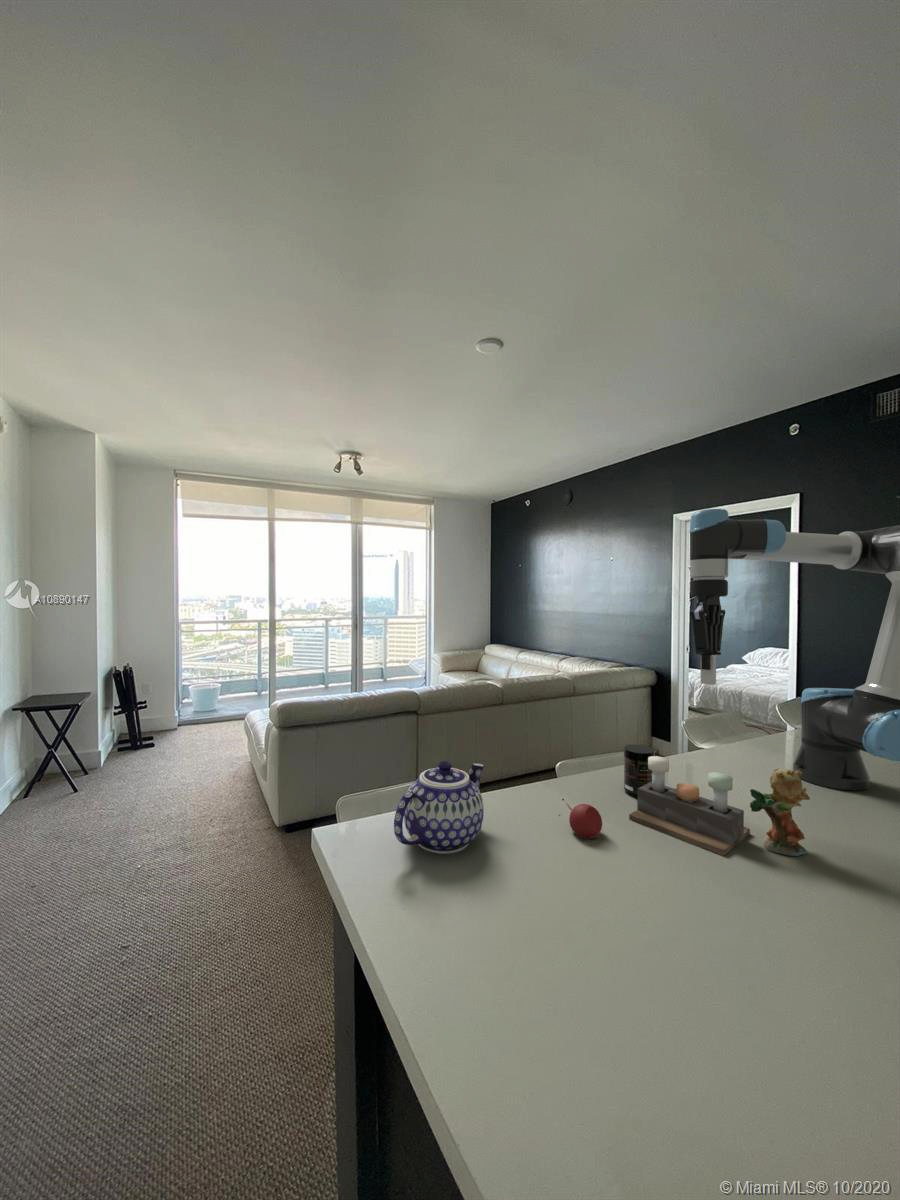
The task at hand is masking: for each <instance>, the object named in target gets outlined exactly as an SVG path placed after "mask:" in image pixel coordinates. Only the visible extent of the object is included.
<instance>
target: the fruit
mask: <svg viewBox="0 0 900 1200" xmlns="http://www.w3.org/2000/svg"><path fill="white" fill-rule="evenodd" d="M561 800H562V801H563V802H564V801H565V799H564V798H562V799H561ZM566 806H567V807H568V808H569V810H570V813H569V817H568V818H569V819H568V820H569V821H568V822H569V826H570V828H571V830H572V832H573V833H574V835H576V836H578V837H580V838H583V839H594V838H596V837H597V836H598V835H599V834H600V833H601V831H602V828H603V819H602V816H601V814H600V812H599V811H598V810H597V809H596V808H595V807H594V806H592V805H590V804H588V803H581V804H577V805H576V806H574V807H573V808H572V807H571V806H570V805H569V804H568V803H566Z"/></svg>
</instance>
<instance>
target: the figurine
mask: <svg viewBox="0 0 900 1200" xmlns="http://www.w3.org/2000/svg"><path fill="white" fill-rule="evenodd" d="M801 774H802V772H800V770H797V771H793V769H788V768H779V767H778V768H775V769H774V770H773V772H772V774H771V775H770V778H769V780H770V781H769V783H770V788H771V789H772V792H771V793H762V792H760V790H757V789H754V788H751V789H749V791H750V796H751V797H752V798H753V801H750V803H749V807H750V808H751V810H750V811H751V812H753V813H754V812H756V813H757V812H761V810H763V811H764V812H765V814H767V816H768V817H769V819H770V821H771V828H770V829H769V830H767V831H766V835H765V836H764V839H763V842H762V844H763V846H764V848H766V849H767V850H768V851H769V852H772V853H776V854H779V855H784V856H787V857H799V856H801V855H802V856H803V855H806V854H807V853H808V852H809V851H808V850H807V849H806V848H805V847H804V846H803V845H802V844H800V843H799V841H801V840H805V839H806V837H805V836H804V835H805V834H804V833H803V832H802V830H801V829H800V828H799V826H798V825H797V823H796V822H795V820H794V819H793V814H792V809H793V808H794V807H802V804H801V803H800V802H802V801H804V800H806V801H809V800H811V798H810V796H809V795H808V793H807V791H808V789H807V788H806V787H804V786H803V781H802V779H801V778H800V776H801Z"/></svg>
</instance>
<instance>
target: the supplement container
mask: <svg viewBox="0 0 900 1200" xmlns="http://www.w3.org/2000/svg"><path fill="white" fill-rule="evenodd" d="M655 750H656V749H654V748H653V747H651V746H648V745H647V746H646V745H644V744H643V745H642V744H627V745H626V744H625V745H624V746H623V790H624V792H625V793H626V794H627V795H629V796H630V797H634V798H637V791H638V788H640V787H642V786H644V785H646V784H648V783H650V782H652V770H650V769H649V768H648V757H651V756H656V755H655V754H656V751H655Z"/></svg>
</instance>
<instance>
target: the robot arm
mask: <svg viewBox="0 0 900 1200" xmlns="http://www.w3.org/2000/svg"><path fill="white" fill-rule="evenodd" d="M689 524H690V525H689V548H690V549H689V552H690V553H689V565H688V569H689V578H690V579H692V580H690V582H689V595H690V597H697V598H696V603H695V606H696V607H695V609H691V610H690V616H691V620H692V628H693V638H694V647H695V654H696V655H700V684H702V685H711V686H715V685H717V656H721V655H722V652H721V650H722V649H721V647H722V641H723V640H722V639H723V630H724V628H723V627H724V620H725V616H726V610H725V609H722V605H721V599H720V597H722V598H723V597H727V596H728V595H729V581H728V580H727V579H726V578H728V577H729V560H730V559H731V560H749V561H752V560H753V561H765V562H768V561H769V562H783V563H799V564H815V565H816V564H817V565H831V566H833V567H835V568H836V569H839V570H846V571H847V570H848V571H855V572H856V571H857V572H864V573H865V572H866V573H875V574H880V575H881V574H882V575H885V577H886V578H887V579H888V580H889V582H891V586H890V591H889V595H888V598H887V602H886V606H885V610H884V614H883V617H882V621H881V624H880V628H879V632H878V636H877V639H876V642H875V646H874V650H873V655H872V658H871V662H870V665H869V669H868V673H867V676H866V680H865V683H864V684H861V685H859V686H857V687H855V688H840V687H839V688H836V687H835V688H834V687H833V688H832V687H808V688H804V689H803V691H802V692H801V698H800V699H801V700H800V712H801V715H800V716H801V718H800V721H801V722H800V725H801V726H800V727H801V728H800V729H801V730H800V731H801V732H800V733H801V734H800V737H801V741H800V742H801V744H800V746H799V749H798V751H797V754H796V756H795V759H794V761H793V763H792V771H797V770H800V772H802V774H801V776H800V779H801V780H803V781H806V782H808V783H811V784H814V785H816V786H817V785H818V786H821V787H825V788H829V789H830V788H831V789H836V790H843V791H865V790H868V789H870V787H871V785H870V783H871V779H870V775H869V772H868V770H867V767H866V765H865V763H864V759H863V756H862V755H861V751H862V752H865V753H868V754H870V755H871V756H874V757H877V758H880V759H885V760H889V761H893V762H900V524H898V525H893V526H886V527H881V528H876V529H870V530H863V531H861V530H860V531H848V530H847V531H842V532H841V533H839V534H832V533H831V534H830V533H829V534H828V533H813V532H811V533H809V532H795V531H793V532H792V531H787V530H786V527H785V525H784V524H783V522H781V521H779V520H777V519H767V518H763V519H732V518H730V516H729V512H728V510H727V509H725V508H724V509H722V508H709V509H708V508H707V509H700V510H697V511H695V512H694V513H692V514H691V517H690V523H689Z"/></svg>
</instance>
